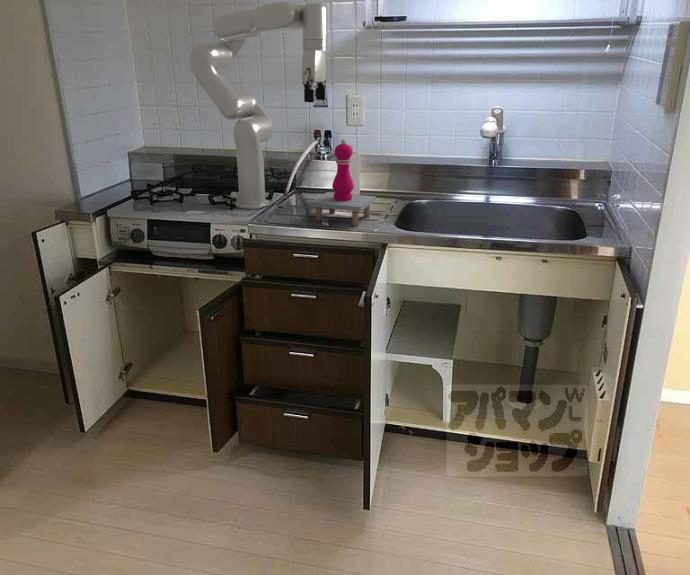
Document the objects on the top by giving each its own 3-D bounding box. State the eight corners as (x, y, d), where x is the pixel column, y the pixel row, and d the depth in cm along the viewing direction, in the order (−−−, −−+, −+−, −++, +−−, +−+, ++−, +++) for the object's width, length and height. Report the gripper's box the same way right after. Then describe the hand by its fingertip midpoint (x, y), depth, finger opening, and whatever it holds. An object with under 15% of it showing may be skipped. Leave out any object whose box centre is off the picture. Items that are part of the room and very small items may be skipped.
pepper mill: (351, 202, 201) (352, 141, 194) (330, 200, 202) (330, 140, 195) (355, 197, 208) (356, 138, 200) (334, 196, 209) (335, 137, 202)
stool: (309, 222, 203) (309, 201, 201) (327, 211, 217) (327, 191, 215) (360, 227, 198) (360, 207, 195) (375, 216, 212) (375, 196, 209)
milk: (344, 207, 223) (344, 146, 215) (339, 203, 229) (339, 144, 220) (359, 206, 225) (360, 146, 216) (354, 202, 230) (355, 143, 222)
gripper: (314, 45, 203) (314, 98, 209) (292, 45, 188) (293, 102, 194) (335, 45, 200) (334, 99, 207) (314, 45, 185) (315, 103, 192)
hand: (314, 101), depth 201 cm, fingers open, 9 cm apart
